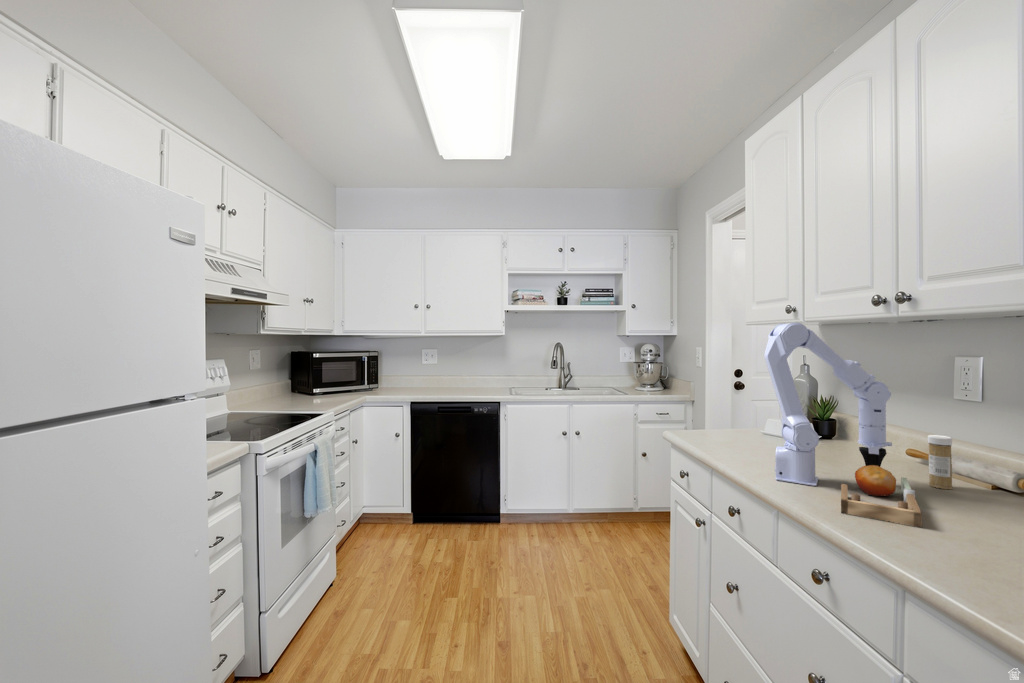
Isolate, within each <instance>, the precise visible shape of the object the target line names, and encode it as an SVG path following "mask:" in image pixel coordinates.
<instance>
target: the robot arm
mask: <svg viewBox="0 0 1024 683" xmlns="http://www.w3.org/2000/svg"><path fill="white" fill-rule="evenodd" d="M797 348H801V349H807V350H809V351H810V352H812V353H813V354H814V355H815V356H816V357H819V359H821V360H822V361H823V362H825V363H826V364H827V365H829V366H830V367H831V368H832V373H833V374H832V375H834V376H835V377H836V378H837V379H838V380H839V381H841V382H842V383H843V384H845V386H846V387H847V388H849V389H850V390H852V393H853V395H854V397H856V398H858V403H857V404H858V408H857V409H858V439H857V444H859V445H861V446H860V447H858V450H859V453H860V454H861V455H862V456H861V457H862V458H863V461H864V464H865V465H864V466H869V465H876V466H879V467H882V462H883V460H884V458H885V457H886V455H887V449H886V448H885V447H893V443H892V441H891V442H889V441H887V418H886V417H887V414H886V412H887V410H886V409H887V408H886V407H887V402H888V401H889V400H890V398H891V396H892V392H891V391H890V390H889V387H888V386H887V385H886V384H885V383H883V382H881V381H876V380H875V379H876V376H875V375H873V374H870V373H868V372H867V371H866V370H865V369H863V368H862V367H861V365H862V364H861V363H860V362H859V361H854V360H852V359H843V357H841V356H840V355H839V354H838V352H835V351H834V350H833V349H832V348H831V347H830V346H829V345H828V344H827V343H826V342H825V341H824V340H823V339H821V338H820V337H819V336H818V335H817V334H816V333H815V331H813V330H811V329H810V328H808V327H807V326H805V324H803V323H801V322H797V321H795V322H790V323H779V324H777V325H775V327H774V328H773V329H772V330H771V331H770V332H769V333H768V340H767V343H766V348H765V350H764V354H763V356H764V361H765V363H766V367H767V370H768V373H769V377H770V380H771V383H772V386H773V389H774V392H775V395H776V399H777V402H778V405H779V409H780V411H781V415H782V417H781V419H780V422H781V424H782V425H781V431H780V434H781V436H782V438H783V440H784V441H785V442H784V444H783V446H779V445H777V446H776V448H775V466H774V468H775V469H774V472H775V477H774V478H775V480H776V481H781V482H786V483H793V484H801V485H807V486H813V487H817V486H818V480H819V477H818V476H816V448H817V446H818V445H819V442H820V436H819V434H818V433H817V432H816V430H814V428H813V427H812V425H811V422H810V420H809V419H808V418H807V417H808V416H806V415H805V413H804V410H803V406H802V403H801V400H800V397H799V395H798V390H797V387H796V384H795V382H794V377H793V374H792V371H791V369H790V366H789V363H788V358H789V357H790V355H791V354H792V353H793V351H794V350H796V349H797Z"/></svg>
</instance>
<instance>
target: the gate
mask: <svg viewBox="0 0 1024 683" xmlns="http://www.w3.org/2000/svg"><path fill="white" fill-rule="evenodd" d="M900 482H901V483H900V485H901V486H900V488H901V493H902V495H903V501H904V502H907V494H912V495H914V497H915V498H916V490H915V489H912V488H911V485H910V484H909V481H908V480H907V477H903V476H902V477H900Z"/></svg>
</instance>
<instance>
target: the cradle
mask: <svg viewBox="0 0 1024 683" xmlns="http://www.w3.org/2000/svg"><path fill="white" fill-rule="evenodd" d="M848 493H849V492H848V484H844V483H841V485H840V514H844V513H845V515H849V514H852V515H851V516H855V515H857V516H856V517H860V516H863V517H862V518H866V517H869V518H868V519H871V518H875V519H874V520H877V519H880V520H879V521H882V520H885V521H884V522H888V521H890V522H889V523H893V522H894V523H893V524H898V523H900V525H904V524H907V525H906V526H909V525H912V527H915V526H917V528H920V527H923V523H922V518H923V517H922V516H923V514H922V511H921V509H920V507H919V504H918V501H917V500H916V496H915V497H914V495H912V494H907V502H904V500H898V501H897V507H896V506H888V505H884V504H877V503H871V502H865V501H861V495H860V494H858V493H851V499H848Z"/></svg>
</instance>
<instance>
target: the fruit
mask: <svg viewBox="0 0 1024 683" xmlns="http://www.w3.org/2000/svg"><path fill="white" fill-rule="evenodd" d="M854 478H855V482H856V485H857V486H858V488H859V489H860V490H861V491H862V492H863V493H864V494H866V495H867V494H868V495H867V496H870V495H872V496H871V497H873V496H874V497H890V496H892V495H894V493H895V492H896V486H897V479H896V477H895V476H894V475H893V473H892V472H891V471H889V470H888V469H885V468H883V467H882V466H880V467H879V466H876V465H869V466H866V465H863V466H861V467H860V466H859V468H858V469H856V471H855V472H854Z"/></svg>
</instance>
